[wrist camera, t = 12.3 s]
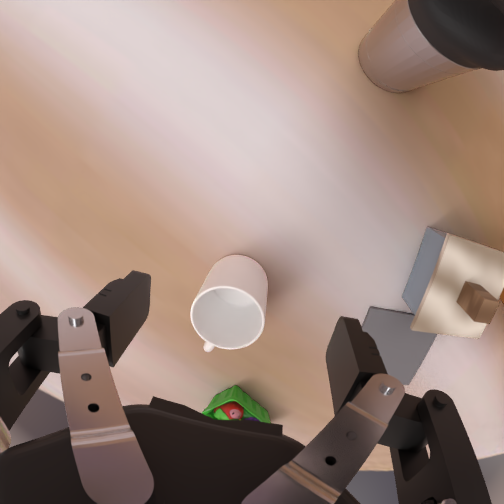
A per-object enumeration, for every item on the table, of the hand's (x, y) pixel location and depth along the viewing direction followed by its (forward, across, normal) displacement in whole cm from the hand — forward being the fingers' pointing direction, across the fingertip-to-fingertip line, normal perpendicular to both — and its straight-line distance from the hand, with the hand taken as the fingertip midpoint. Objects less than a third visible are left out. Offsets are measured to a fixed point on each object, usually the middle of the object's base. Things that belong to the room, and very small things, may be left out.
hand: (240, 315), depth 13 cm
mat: (+28, -25, +19) cm, 42 cm away
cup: (+28, +2, +14) cm, 32 cm away
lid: (+21, -28, +4) cm, 35 cm away
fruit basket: (+28, -3, +37) cm, 47 cm away
